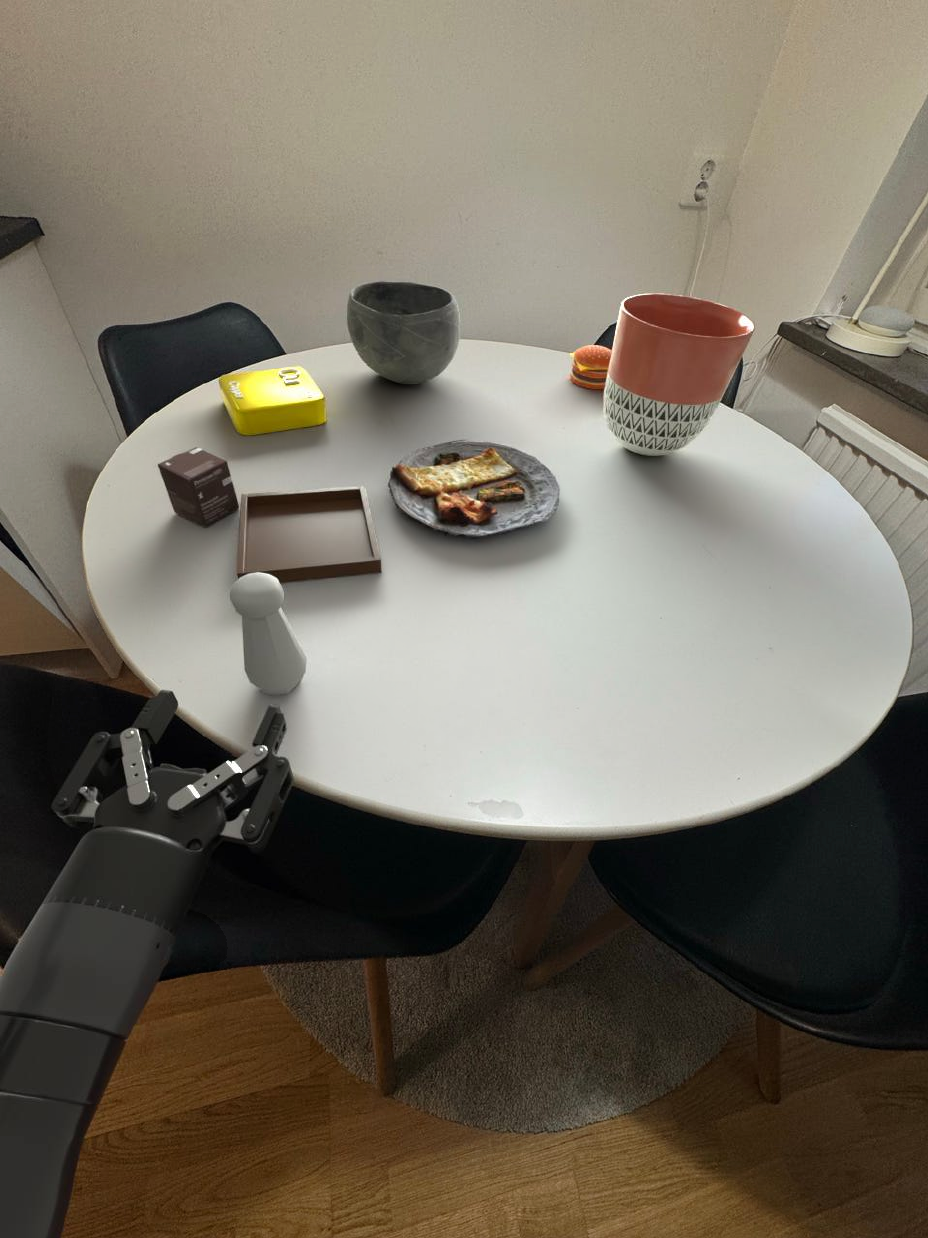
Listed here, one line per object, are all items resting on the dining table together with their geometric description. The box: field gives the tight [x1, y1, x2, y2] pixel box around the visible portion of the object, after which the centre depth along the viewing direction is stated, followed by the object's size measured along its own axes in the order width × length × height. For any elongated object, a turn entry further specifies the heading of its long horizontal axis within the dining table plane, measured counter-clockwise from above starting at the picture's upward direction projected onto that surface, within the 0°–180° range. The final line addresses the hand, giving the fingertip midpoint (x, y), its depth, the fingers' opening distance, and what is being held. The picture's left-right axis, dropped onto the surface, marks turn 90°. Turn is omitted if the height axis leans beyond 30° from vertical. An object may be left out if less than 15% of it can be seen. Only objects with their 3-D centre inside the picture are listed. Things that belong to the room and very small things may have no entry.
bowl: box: [346, 280, 461, 385], centre depth 104 cm, size 21×21×15 cm
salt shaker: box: [229, 572, 308, 696], centre depth 51 cm, size 6×6×13 cm
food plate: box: [387, 439, 561, 539], centre depth 80 cm, size 25×23×4 cm
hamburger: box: [569, 344, 612, 390], centre depth 113 cm, size 9×10×7 cm
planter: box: [602, 293, 756, 457], centre depth 88 cm, size 20×20×21 cm
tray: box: [236, 485, 382, 584], centre depth 71 cm, size 17×17×2 cm
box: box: [157, 447, 240, 528], centre depth 71 cm, size 6×6×7 cm
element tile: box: [218, 366, 328, 436], centre depth 93 cm, size 15×15×5 cm
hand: (223, 703), depth 43 cm, fingers open, 8 cm apart
